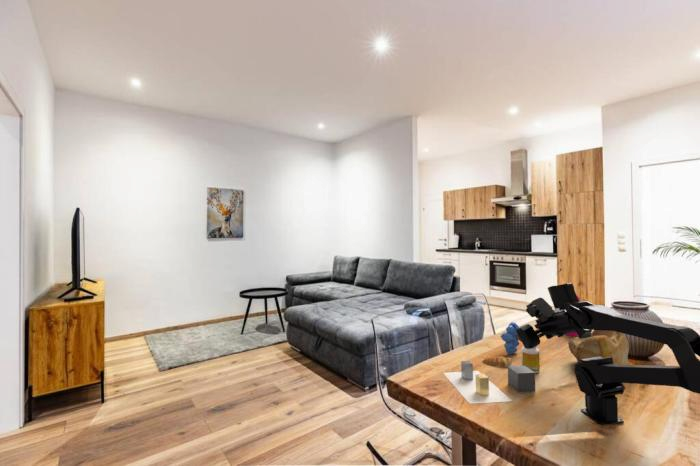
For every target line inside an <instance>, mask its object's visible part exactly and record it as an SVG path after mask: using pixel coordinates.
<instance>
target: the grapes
mask: <svg viewBox="0 0 700 466" xmlns="http://www.w3.org/2000/svg"><path fill="white" fill-rule="evenodd" d="M519 327H520V326H519V325H518V324H517V322H515V321H511V322H510V323H509V324H508V326H507V327H506V328H505V331H506V332H503V333H502V334H501V335H500V338H501V340H502V341H503V342H505V343H504V344H503V347H504V349H505V351H506V354H507V355H509V356H511V355H513V354H515V353H517V352H518V348H517V347H518V346H519V345H520V341H519V340H517V339H516V338H515V335H516V334H517V332H516V329H517V328H519Z"/></svg>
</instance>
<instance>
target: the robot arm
mask: <svg viewBox="0 0 700 466" xmlns="http://www.w3.org/2000/svg"><path fill="white" fill-rule="evenodd" d="M547 292H548V294H549V297H550V300H551V302H552V305H553V307H554V309H553V307H552V306H551V305H550V304H549V302H547V301H546V300H545V298H543V297H538V298H535V299H533V300H532V301H531V302H530V303H529V304H526V309H525V311H526V313H527V314H528V316H530V317H531V318H534V317H535V318H536V319H535V320H534V321H535V323H536V324H534V325H533V326H532V325H531V324H529V323H527V324H523V325H522V326H519V328H517V329H516V332H517V334H516V335H515V338H516V339H517V340H518V342H521V343H522V345H523V347H525V348H526V349H531V348H534V347H535V346H537V347H538V346H540V344H541V338H542V337H545V338H546V340H551V339H552V338H555V337H558V338H561V337H563V336H565V335H566V334H569V333H575V332H577V335H578V336H577V337H579V338H580V339H582V338H589V337H591V333H592V332H593V331H594V330H608V331H616V332H620V333H624V334H625V335H629V336H633V337H636V338H640V339H644V340H648V341H651V342H655V343H659V344H664V345H666V346H668V347H669V349H670V350H671V352H672V353H673V355H674V358H675V360H676V362H677V365H653V364H651V365H645V364H644V365H643V364H641V365H640V364H635V365H634V364H628V365H618V364H616V363H614V362H613V358H612V357H608V358H602V357H593V358H587V359H580V361H581V362H578V361H577V362H576V363H575V364H574V375H575V378H576V382H577V385H578V389H579V391H580V392H582V393H584V398H585V400H584V401H585V403H584V405H585V407H584V408H580V412H582V413H583V414H584V415H586V416H587V417H589V418H590V419H592V420H593V421H594V422H596V423H597V424H599V425H608V424H609V425H610V424H623V423H625V420H624V419H623V418H621V417H619V415H618V414H619V413H618V411H619V410H618V409H619V407H618V405H619V404H618V397H617V396H618V395H623V394H624V392H625V390H626V387H625V385H624V384H632V385H634V384H635V385H650V386H665V387H678V388H682V389H684V390H686V391H688V392H691V393H694V394H699V395H700V359H699V358H700V334H699V333H698V332H696V331H697V330H694V329H693V328H691V327H689V326H684V325H681V326H680V325H674V324H671V323H666V322H659V321H655V320H649V319H645V318H640V317H636V316H630V315H626V314H623V313H621V312H618V311H617V310H616V309H613V308H611V307H609V306H605V305H602V304H594V303H592V302H589V301H588V300H586V301H585V300H584V301H580V302H579V300H578V298H577V295H578V294H577V293H576V290H575V287H574V283H572V282H566V283H563V284H557V285H551V286H548V287H547ZM534 328H535V329H534ZM697 356H698V357H699V358H698V357H697ZM616 395H617V396H616Z"/></svg>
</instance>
